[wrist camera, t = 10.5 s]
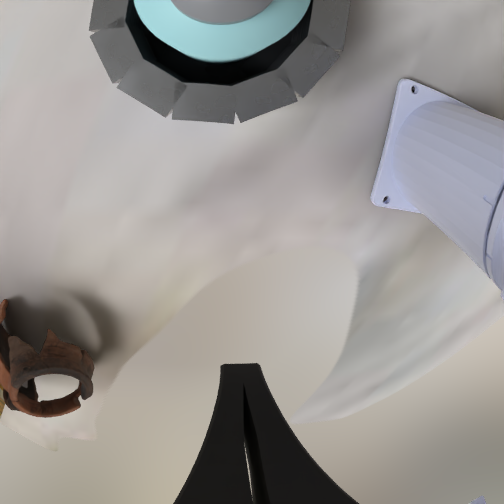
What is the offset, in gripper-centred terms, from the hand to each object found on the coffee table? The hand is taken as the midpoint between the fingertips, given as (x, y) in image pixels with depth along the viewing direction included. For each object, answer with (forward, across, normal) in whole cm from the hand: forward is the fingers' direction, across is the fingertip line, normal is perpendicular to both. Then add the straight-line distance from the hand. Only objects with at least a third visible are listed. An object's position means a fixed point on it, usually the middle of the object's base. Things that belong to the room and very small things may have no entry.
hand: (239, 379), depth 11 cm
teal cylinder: (+8, +1, -13) cm, 16 cm away
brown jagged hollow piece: (+10, +16, +10) cm, 21 cm away
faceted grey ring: (+9, +1, -13) cm, 16 cm away
